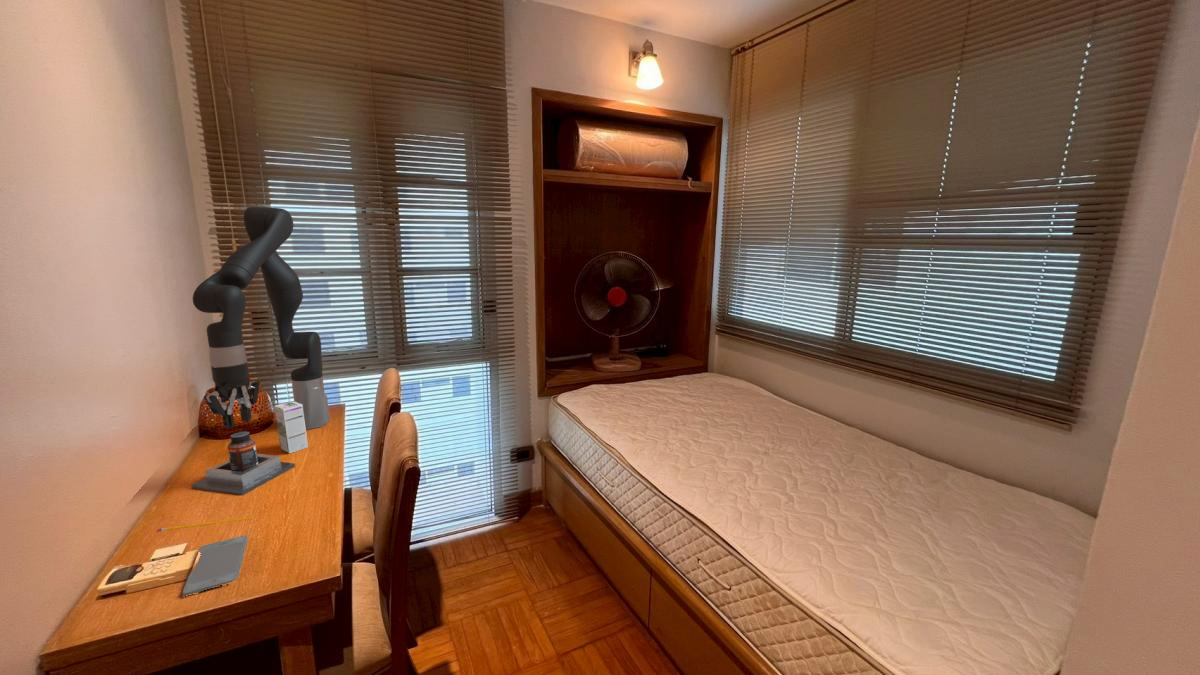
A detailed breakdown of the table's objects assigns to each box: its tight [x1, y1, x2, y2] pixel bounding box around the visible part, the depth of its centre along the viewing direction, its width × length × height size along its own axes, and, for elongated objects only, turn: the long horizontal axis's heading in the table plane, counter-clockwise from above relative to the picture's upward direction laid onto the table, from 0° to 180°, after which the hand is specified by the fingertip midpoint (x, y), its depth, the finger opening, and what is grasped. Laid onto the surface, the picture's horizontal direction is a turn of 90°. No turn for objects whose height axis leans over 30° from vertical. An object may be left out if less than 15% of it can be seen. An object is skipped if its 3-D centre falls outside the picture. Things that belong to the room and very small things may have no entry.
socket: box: [190, 453, 296, 496], centre depth 127 cm, size 16×16×4 cm
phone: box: [181, 535, 249, 597], centre depth 93 cm, size 8×16×1 cm, turn 31°
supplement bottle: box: [227, 431, 258, 472], centre depth 127 cm, size 6×6×11 cm
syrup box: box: [274, 400, 309, 454], centre depth 144 cm, size 6×6×14 cm
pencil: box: [157, 516, 256, 533], centre depth 106 cm, size 1×18×1 cm, turn 106°
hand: (238, 424), depth 125 cm, fingers open, 4 cm apart
